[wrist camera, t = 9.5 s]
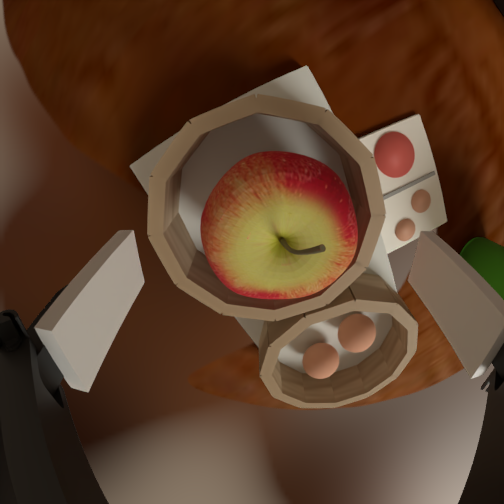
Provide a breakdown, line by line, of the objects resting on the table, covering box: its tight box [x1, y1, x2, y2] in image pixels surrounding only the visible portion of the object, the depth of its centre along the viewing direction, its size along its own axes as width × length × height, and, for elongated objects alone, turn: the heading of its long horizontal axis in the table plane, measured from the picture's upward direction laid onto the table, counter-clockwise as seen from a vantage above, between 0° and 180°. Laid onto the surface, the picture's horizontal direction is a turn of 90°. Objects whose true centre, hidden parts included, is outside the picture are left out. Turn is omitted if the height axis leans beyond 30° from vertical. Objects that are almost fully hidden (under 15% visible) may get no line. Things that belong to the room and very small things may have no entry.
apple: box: [200, 151, 358, 299], centre depth 15 cm, size 8×8×10 cm
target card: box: [358, 114, 447, 254], centre depth 20 cm, size 10×7×1 cm
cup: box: [460, 237, 504, 300], centre depth 18 cm, size 9×9×11 cm
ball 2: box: [338, 314, 376, 353], centre depth 23 cm, size 4×4×4 cm
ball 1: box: [302, 343, 339, 379], centre depth 25 cm, size 4×4×4 cm
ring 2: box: [259, 273, 418, 408], centre depth 24 cm, size 14×14×4 cm
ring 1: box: [147, 94, 386, 321], centre depth 18 cm, size 14×14×4 cm
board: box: [130, 66, 397, 373], centre depth 23 cm, size 29×14×1 cm, turn 29°
